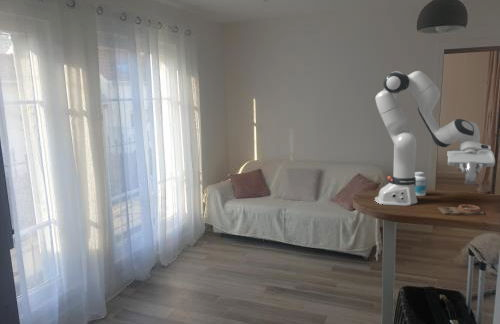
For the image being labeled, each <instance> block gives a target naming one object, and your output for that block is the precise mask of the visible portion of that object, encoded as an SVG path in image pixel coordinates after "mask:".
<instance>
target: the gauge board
mask: <svg viewBox="0 0 500 324" xmlns="http://www.w3.org/2000/svg"><path fill="white" fill-rule="evenodd" d="M437 210H438V211H439V212H440V213H442V214H443V215H444V216H485V212H484V211H482V210H481V208H480V207H479V206H478V205H475V204H459V205H458V206H437Z"/></svg>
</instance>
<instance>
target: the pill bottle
mask: <svg viewBox="0 0 500 324" xmlns="http://www.w3.org/2000/svg"><path fill="white" fill-rule="evenodd" d="M424 175H425V173H424V172H423V171H415V177H416V185H415V193H416V197H425V196H426V194H427V177H426V176H424Z"/></svg>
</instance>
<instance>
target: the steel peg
mask: <svg viewBox="0 0 500 324" xmlns="http://www.w3.org/2000/svg"><path fill="white" fill-rule="evenodd" d="M476 165H477V162H466V166H465V168H466V173H464V175H465V177H464V179H465V180H464V184H465V186H466V185H467V186H475V185H476V183H477V173H476V169H477V167H476Z"/></svg>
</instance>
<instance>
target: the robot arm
mask: <svg viewBox="0 0 500 324" xmlns="http://www.w3.org/2000/svg"><path fill="white" fill-rule="evenodd" d="M405 90H407V91H409V92H410V93H411V95H413V97H415V99H416V102H417V103H418V108H417V111H418V114H419V115H420V118H421V120H422V121H423V123H424V125H425V127H426V129H427V130H428V132H429V133H430V135H431V138H432V141H433V142H434V144H435V145H436V146H438V147H441V148H448V147H449V146H451V145H452V144H453V143H455V142H458V141H459V142H460V144H459V149H450V150H448V151H447V152H446V157H447V166H449V167H459V169H460V170H461V173H462V174H465V173H466V162H477V165H476V174H480V173H481V170H482V169H483V168H484V167H485V168H494V166H495V165H496V158H495V154H494V152H493V151H492V146H491V145H487V144H484V143H481V142H480V140H481V136H480V135H481V133H480V129H479V126H478V124H477V123H475V122H474V121H468V120H465V119H462V118H456V119H454V120H452V121H451V122H449V123H448V124H446V125H444V126H442V127H440V125H439V123H438V122H437V120H436V118H435V117H434V115H433V110H434V108H435V106H436V105H437V104H438V102H439V100H440V97H441V92H440V89H439V87H438V86H437V85H436V83H434V81H433V80H432V79H431V78H430V77H429V76H428V75H427V74H425V73H424V72H422V71H421V70H415V71H413V72H411V73H409V74H405V73H403V72H401V71H397V70H395V71H393V72H390V73H388V74H387V75H385V77H384V79H383V89H382V90H381V91H379V92H378V93H377V94H376V96H375V98H374V99H375V104H376V107H377V110H378V113H379V115H380V118H381V119H382V121H383V123H384V126H385V128H386V130H387V132H388V134H389V136H390V139H391V141H392V143H393V173H392V174H393V175H392V176H390V175H388V176H387V180H389V182H388V183H387V184H385V185H384V186H382V188H380V190H379V191H378V196H375V197H374V199H375V200H374V202H375V201H376V202H377V203H376V202H375V203H376V204H378V203H379V204H378V205H382V204H383V205H385V206H403V207H406V206H412V205H414V204H415V205H416V204H417V203H418V199H417V196H416V193H415V185H416V177H415V172H416V158H417V157H416V156H417V144H418V143H417V142H418V141H417V138H416V137H415V135H414V134H413V132H412V129H411V127H410V125H409V123H408V120H407V118H406V116H405V114H404V111H403V109H402V107H401V105H400V103H399V100H398V98H397V97H398V94H399V93H400V92H402V91H405ZM464 167H465V168H464ZM383 205H382V206H383Z"/></svg>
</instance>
